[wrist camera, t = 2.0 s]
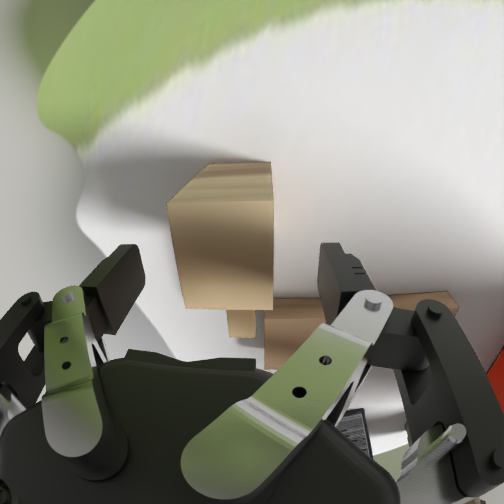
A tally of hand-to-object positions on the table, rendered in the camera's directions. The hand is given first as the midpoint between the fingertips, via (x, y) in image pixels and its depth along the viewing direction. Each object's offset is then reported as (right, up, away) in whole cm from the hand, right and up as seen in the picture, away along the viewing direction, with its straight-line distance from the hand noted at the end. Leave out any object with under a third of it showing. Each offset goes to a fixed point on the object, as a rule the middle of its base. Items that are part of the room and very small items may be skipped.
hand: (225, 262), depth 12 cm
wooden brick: (0, +1, +8) cm, 8 cm away
